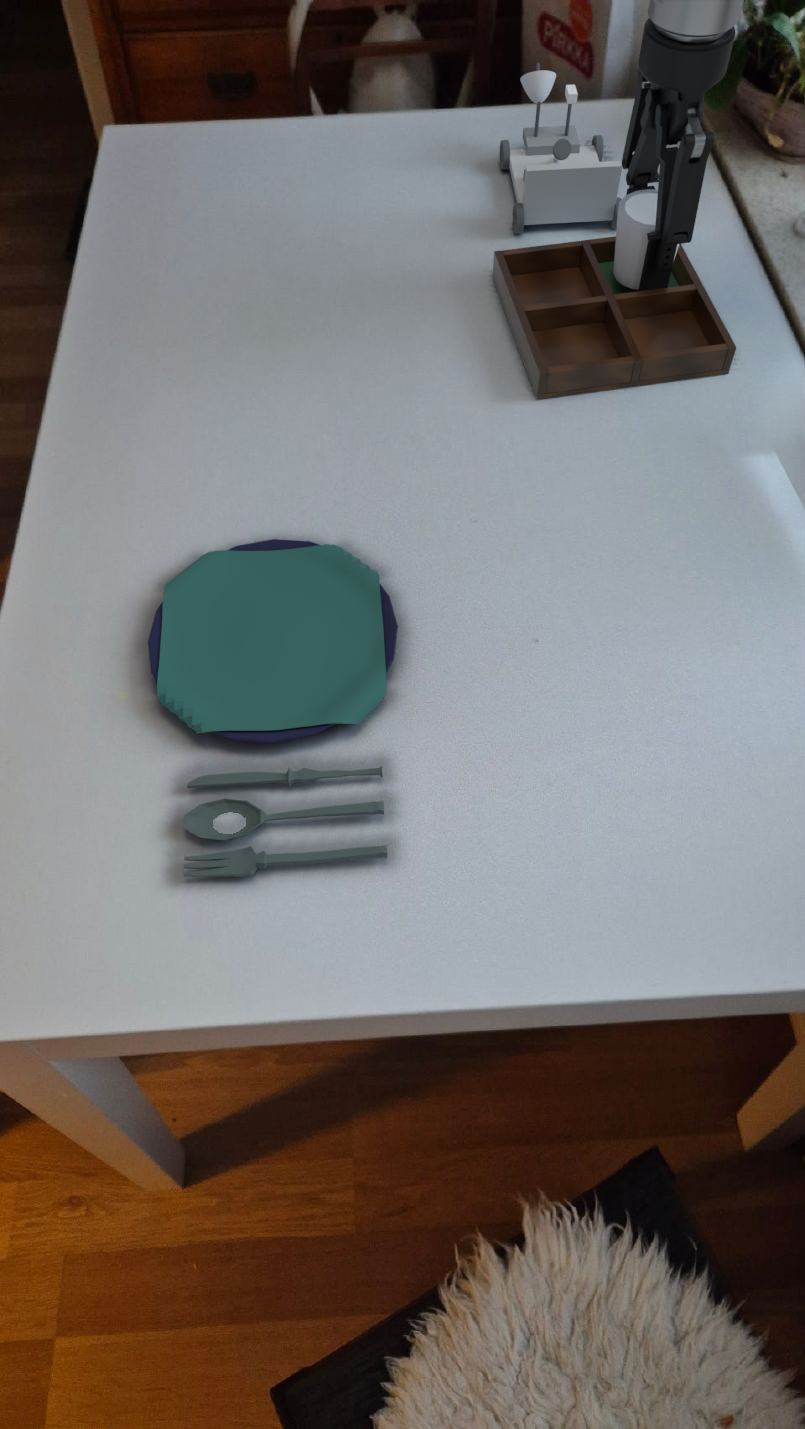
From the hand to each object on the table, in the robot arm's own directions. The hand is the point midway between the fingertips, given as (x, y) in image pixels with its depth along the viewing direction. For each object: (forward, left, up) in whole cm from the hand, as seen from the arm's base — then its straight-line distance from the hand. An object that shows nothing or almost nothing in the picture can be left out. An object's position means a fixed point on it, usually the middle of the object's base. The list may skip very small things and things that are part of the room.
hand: (640, 271), depth 103 cm
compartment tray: (+5, +4, -2) cm, 7 cm away
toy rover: (+4, -20, -3) cm, 20 cm away
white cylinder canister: (0, 0, -1) cm, 1 cm away
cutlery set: (+43, +43, -3) cm, 61 cm away
